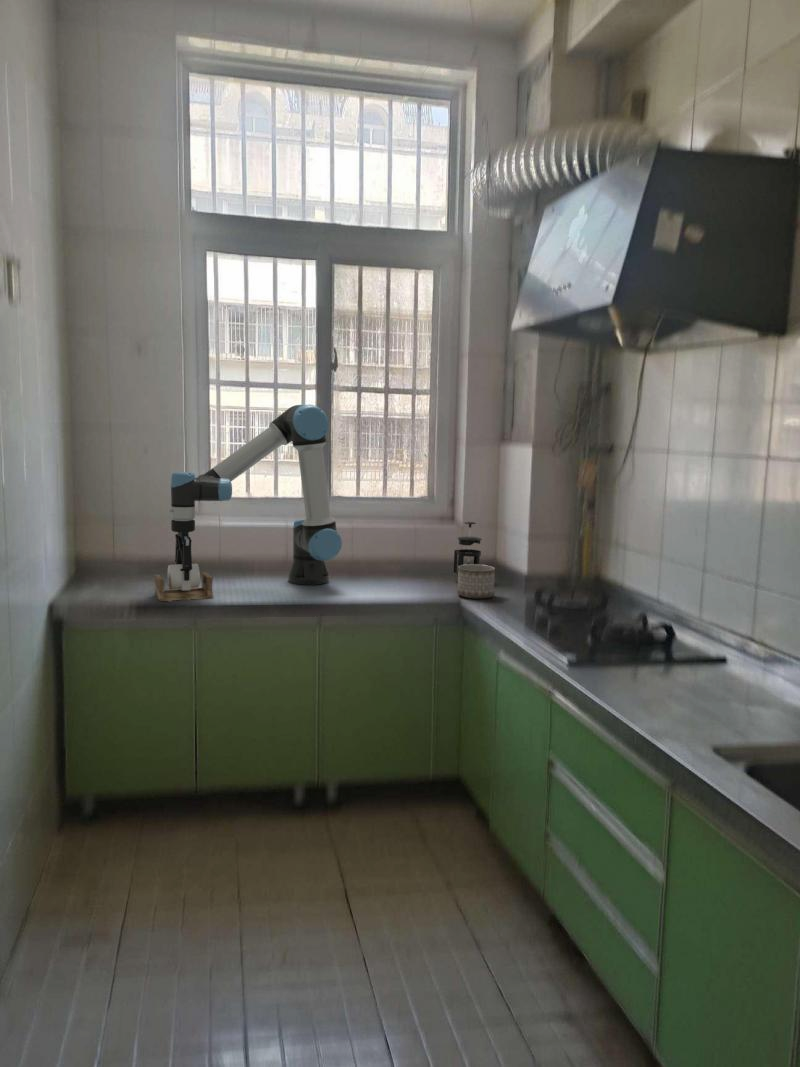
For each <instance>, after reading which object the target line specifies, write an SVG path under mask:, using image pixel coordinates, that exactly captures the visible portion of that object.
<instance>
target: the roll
mask: <svg viewBox="0 0 800 1067" xmlns="http://www.w3.org/2000/svg"><path fill="white" fill-rule="evenodd" d="M180 569H182V564H177V565H176V564H168V566H167V574H166V575H167V583H168V584H167V585H168V588H169V590H176V589H182V571H180ZM190 580H191V589H192V588H200V587H199V586H200V583H201V574H200V567H199V564H198V563H192V570H190Z"/></svg>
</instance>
